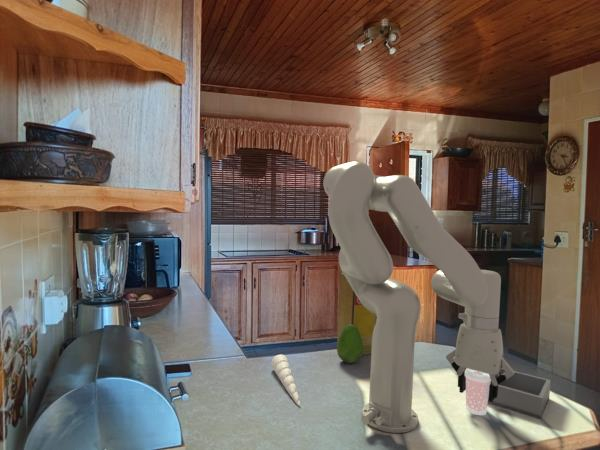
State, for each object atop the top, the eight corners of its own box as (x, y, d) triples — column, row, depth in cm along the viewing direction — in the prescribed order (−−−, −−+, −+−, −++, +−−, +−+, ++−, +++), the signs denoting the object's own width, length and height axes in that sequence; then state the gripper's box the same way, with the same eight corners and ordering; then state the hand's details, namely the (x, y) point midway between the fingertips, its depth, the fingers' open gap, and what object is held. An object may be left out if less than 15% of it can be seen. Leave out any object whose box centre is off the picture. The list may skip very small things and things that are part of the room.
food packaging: (376, 354, 135) (379, 279, 134) (349, 356, 132) (352, 279, 131) (360, 341, 148) (363, 272, 146) (335, 342, 145) (338, 272, 144)
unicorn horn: (284, 409, 97) (285, 389, 97) (270, 369, 120) (271, 353, 120) (303, 408, 98) (304, 388, 98) (286, 369, 121) (287, 353, 121)
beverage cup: (465, 401, 104) (468, 347, 103) (492, 409, 100) (495, 353, 99) (459, 411, 99) (462, 354, 98) (487, 419, 95) (490, 360, 94)
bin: (540, 419, 96) (542, 398, 96) (479, 400, 105) (480, 381, 104) (549, 398, 107) (550, 380, 107) (493, 383, 115) (494, 365, 115)
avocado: (354, 369, 122) (356, 329, 121) (331, 362, 126) (333, 324, 126) (366, 361, 129) (367, 323, 128) (343, 355, 133) (345, 318, 132)
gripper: (439, 317, 101) (436, 389, 102) (517, 333, 90) (513, 413, 91) (450, 312, 107) (446, 379, 107) (524, 326, 96) (519, 401, 97)
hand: (477, 394), depth 99 cm, fingers closed on beverage cup, 6 cm apart
